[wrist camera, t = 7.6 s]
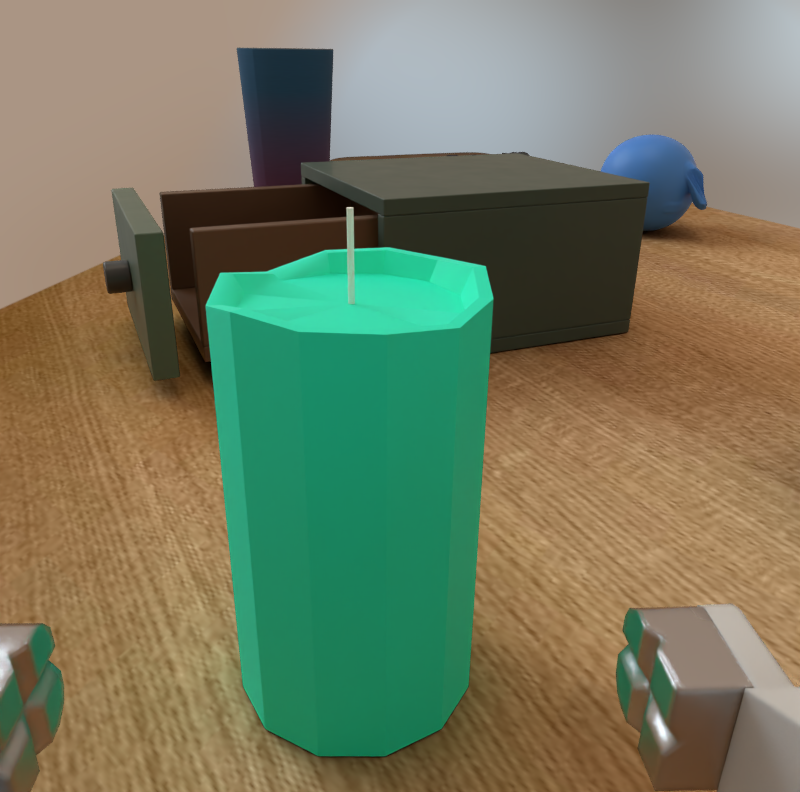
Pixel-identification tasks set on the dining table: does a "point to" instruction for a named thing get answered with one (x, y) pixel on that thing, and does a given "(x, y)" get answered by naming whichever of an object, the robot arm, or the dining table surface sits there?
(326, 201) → the drawer
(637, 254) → the cabinet
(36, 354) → the dining table surface
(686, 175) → the blue mole toy
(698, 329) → the dining table surface
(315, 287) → the candle
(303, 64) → the cup
